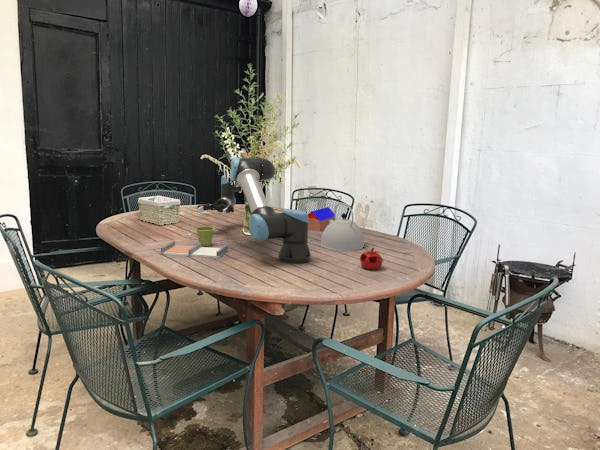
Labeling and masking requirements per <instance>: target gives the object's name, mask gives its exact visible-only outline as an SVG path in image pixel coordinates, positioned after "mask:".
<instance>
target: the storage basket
mask: <svg viewBox="0 0 600 450" xmlns="http://www.w3.org/2000/svg"><path fill="white" fill-rule="evenodd" d="M137 203H138V211H139V218H140V219H139V220H140V221H141V220H143V221H142V222H145V221H146V222H145V223H148V222H150V223H149V224H152V223H154V224H153V225H159V226H165V225H164V224H166V225H172V224H179V222H180V211H181V210H180V208H181V203H182V202H181V199H178V198H172V197H167V196H164V195H163V196H162V195H154V196H145V197H139V198H138V199H137ZM171 223H172V224H171Z"/></svg>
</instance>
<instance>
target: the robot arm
mask: <svg viewBox="0 0 600 450" xmlns="http://www.w3.org/2000/svg"><path fill="white" fill-rule="evenodd" d="M262 165H263V166H262ZM262 174H263V175H262ZM225 175H226V174H224V175H222V176H221V179H220V180H221V181H220V187H221V189H220V190H221V191H220V195H221V196H220V197H221V198H219V199H217V200H216V201H215V202H214V203H210V202H209V203H205V204H200V205H197V206H196V207H197V208H196V209H197V213H198V214H201V213H203V212H204V211H217V212H219V213H222V215H223V216H225V215H226V214H228V213H235V205H236V203H237V199H236V197H235V192H243V193H244V196H245V199H246V200H247V204H248V207H249V209H250V212H251V213H250V215H249V216H248V220H247V222H248V224H247V225H248V231H249V234H250V236H251V237H252V239H254V240H257V241H269V240H281V239H282V244H281V246H280V249H279V252H278V254H277V256H278V257H277V259H278V261H280V262H282V263H285V264H292V265H293V264H294V265H296V264H297V265H298V264H299V265H300V264H306V263H308V262H309V263H310V261H311V259H312V255H311V251H310V248H309V245H308V244H309V243H308V236H309V230H308V223H309V222H308V214H309V213H307V212H306V211H302V210H298V209H292V208H284V209H283V210H282V212H275V209H274V208H273V207H271V206H270V205H269V203H268V201H267V199H266V195H265V194H264V191H263V188H262V186H261V184H260V183H259V181H263V180H269V181H271V180H272V179H273V178H274V177H275V175H276V166H275V165H274V164H273V162H272V161H271V160H269V159H267V158H264V157H235V158H233V159H232V161H231V165H230V175H231V180H232V181H237V183H238V185H239V186H241V187H242V188H243V191H241V188H240V187H237V188H235V187H234V185H231V183H230V182H229V181H227V180H226V178H225ZM270 179H271V180H270Z"/></svg>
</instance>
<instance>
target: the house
mask: <svg viewBox="0 0 600 450" xmlns="http://www.w3.org/2000/svg"><path fill="white" fill-rule="evenodd" d="M307 214H308V222H309V223H308V231H316V232H322V231H324V230H325V228H326V227H327V226H328V225H329V224H330V221H329V220H334V221H335V216H334V211H333V210H332V209H331V208H330V207H329V206H327V207H324V208H323V207H322V208H320V209H319V208H318V209H315V210H311V211H310V212H309V213H307Z"/></svg>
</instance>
